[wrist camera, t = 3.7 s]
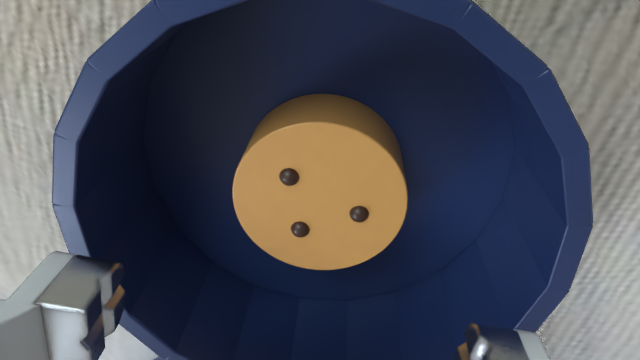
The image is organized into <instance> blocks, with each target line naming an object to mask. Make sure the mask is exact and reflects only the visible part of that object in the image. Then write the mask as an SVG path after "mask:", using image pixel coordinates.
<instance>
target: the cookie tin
mask: <svg viewBox="0 0 640 360" xmlns="http://www.w3.org/2000/svg"><path fill="white" fill-rule="evenodd" d="M311 94H333V95H339V96H344V97H348V98H350V99H353V100H356V101H358V102H360V103H362V104H364V105H366V106H368V107H369V108H371V109H372V110H373V111H375V112H376V113H377V114H378V115H380V116H381V117H382V118H383V119H384V120H385V122H386V123H387V124H388V125H389V126H390V128H391V129H392V131H393V133H394V134H395V136H396V138H397V141H398V143H399V146H400V150H401V154H402V160H403V166H404V172H405V177H406V183H407V190H408V208H407V213H406V217H405V220H404V222H403V225H402V227H401V229H400V230H399V232H398V234H397V235H396V237H395V238H394V239H393V241H392V242H391V243H390V244H389V245H388V246H387V247H386V248H385V249H384V250H383V251H381V252H380V253H379V254H377V255H376V256H374V257H372V258H371V259H369V260H367V261H365V262H362V263H360V264H358V265H354V266H351V267H347V268H342V269H335V270H313V269H306V268H301V267H297V266H294V265H291V264H288V263H285V262H283V261H281V260H278V259H276V258H275V257H273V256H271V255H270V254H268V253H267V252H265V251H264V250H263V249H261V248H260V247H259V246H258V245H257V244H256V243H255V242H253V240H252V239H251V238H250V237H249V236H248V235H247V233H246V232H245V230H244V229H243V227H242V226H241V224H240V222H239V219H238V217H237V215H236V211H235V208H234V203H233V197H232V187H233V180H234V176H235V173H236V169H237V167H238V165H239V163H240V161H241V159H242V156H243V154H244V152H245V150H246V148H247V146H248V143H249V141H250V139H251V137H252V135H253V133H254V131H255V129H256V127H257V126H258V125H259V123H260V122H261V121H262V119H263V118H264V117H265V116H266V115H267V114H268V113H269V112H271V111H272V110H273V109H274V108H276V107H277V106H279V105H281V104H283V103H284V102H287V101H289V100H291V99H294V98H297V97H301V96H304V95H311ZM52 203H53V209H54V211H55V214H56V217H57V220H58V223H59V226H60V228H61V231H62V234H63V237H64V240H65V242H66V245H67V248H68V251H69V254H74V255H82V256H87V257H93V258H98V259H103V260H108V261H113V262H118V263H121V264H122V265H124V278H123V280H122V281H121V283H120V285H121V287H122V288H123V289H124V290H125V306H124V311H123V314H122V317H121V320H120V322H119V324H120V325H121V326H122V327H123V328H125V329H126V330H127V331H128V332H130V333H131V334H132V335H133V336H135V337H136V338H137V339H138V340H140V341H141V342H142V343H143V344H145V345H146V346H147V347H148V348H150V349H151V350H152V351H153V352H155V353H156V354H157V355H158V356H160V357H161V358H162V359H164V360H453V359H454V355H455V353H456V350H457V348H458V347H459V346H460V345H462V344H464V343H465V342H466V340H465V336H464V333H465V331H466V328H467V326H468V325H469V324H470V323H478V324H485V325H491V326H497V327H503V328H509V329H517V330H524V331H530V332H536V331H537V330H538V328H539V327H540V326H541V325H542V324H543V322H544V321H545V320H546V319H547V318H548V316H549V315H550V314H551V313H552V311H553V310H554V309H555V308H556V307H557V305H558V304H559V303H560V302H561V301H562V299H563V298H564V297H565V296H566V295H567V293H568V292H569V289H570V288H571V285H572V282H573V279H574V277H575V274H576V271H577V268H578V266H579V263H580V260H581V257H582V254H583V252H584V249H585V246H586V243H587V241H588V238H589V235H590V232H591V229H592V227H593V225H592V223H593V210H592V191H591V172H590V153H589V148H588V142H587V140H586V138H585V136H584V135H583V133H582V131H581V129H580V127H579V125H578V123H577V121H576V119H575V117H574V115H573V113H572V111H571V109H570V107H569V105H568V103H567V101H566V99H565V97H564V95H563V93H562V91H561V89H560V87H559V85H558V83H557V81H556V79H555V77H554V75H553V73H552V71H551V69H549V68H548V67H547V65H546V64H545V63H544V62H543V61H542V60H541V59H539V58H538V57H537V56H536V55H535V54H534V53H532V52H531V51H530V50H529V49H528V48H527V47H525V46H524V45H523V44H522V43H521V42H520V41H518V40H517V39H516V38H515V37H514V36H513V35H511V34H510V33H509V32H508V31H507V30H506V29H505V28H503V27H502V26H501V25H500V24H499V23H498V22H496V21H495V20H494V19H493V18H492V17H491V16H489V15H488V14H487V13H486V12H485V11H484V10H482V9H481V8H480V7H479V6H478V5H477V4H475V3H474V2H473V1H472V0H151V1H150V2H149V3H148V4H147V5H146V6H145V7H144V8H142V9H141V10H140V11H139V12H138V13H137V14H136V15H135V16H134V17H133V18H131V19H130V20H129V21H128V22H127V23H126V24H125V25H124V26H123V27H122V28H120V29H119V30H118V31H117V32H116V33H115V34H114V35H113V36H112V37H111V38H109V39H108V40H107V41H106V42H105V43H104V44H103V45H102V46H101V47H100V48H98V49H97V50H96V51H95V52H94V53H93V54H92V55H91V56H90V57H89V58H88V59H87V61H86V62H85V64H84V66H83V69H82V71H81V73H80V75H79V77H78V80H77V82H76V84H75V86H74V89H73V91H72V93H71V95H70V97H69V100H68V102H67V104H66V106H65V109H64V111H63V113H62V115H61V117H60V120H59V122H58V124H57V126H56V129H55V133H54V140H53V192H52Z"/></svg>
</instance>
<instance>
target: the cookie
mask: <svg viewBox="0 0 640 360" xmlns="http://www.w3.org/2000/svg"><path fill="white" fill-rule="evenodd" d="M232 197H233V203H234V208H235V211H236V215H237V217H238V219H239V222H240V224H241V226H242V227H243V229H244V230H245V232H246V233H247V235H248V236H249V237H250V238H251V239H252V240H253V242H255V243H256V244H257V245H258V246H259V247H260V248H261V249H263V250H264V251H265V252H267V253H268V254H270V255H271V256H273V257H275V258H276V259H278V260H281V261H283V262H285V263H288V264H291V265H294V266H297V267H301V268H306V269H313V270H335V269H342V268H347V267H351V266H354V265H358V264H360V263H362V262H365V261H367V260H369V259H371V258H372V257H374V256H376V255H377V254H379V253H380V252H381V251H383V250H384V249H385V248H386V247H387V246H388V245H389V244H390V243H391V242H392V241H393V239H394V238H395V237H396V235H397V234H398V232H399V230H400V229H401V227H402V225H403V222H404V220H405V217H406V213H407V208H408V190H407V183H406V177H405V172H404V166H403V160H402V154H401V150H400V146H399V143H398V141H397V138H396V136H395V134H394V133H393V131H392V129H391V128H390V126H389V125H388V124H387V123H386V122H385V120H384V119H383V118H382V117H381V116H380V115H378V114H377V113H376V112H375V111H373V110H372V109H371V108H369V107H368V106H366V105H364V104H362V103H360V102H358V101H356V100H353V99H350V98H348V97H344V96H339V95H333V94H311V95H304V96H301V97H297V98H294V99H291V100H289V101H287V102H284V103H283V104H281V105H279V106H277V107H276V108H274V109H273V110H272V111H271V112H269V113H268V114H267V115H266V116H265V117H264V118H263V119H262V121H261V122H260V123H259V125H258V126H257V127H256V129H255V131H254V133H253V135H252V137H251V139H250V141H249V143H248V146H247V148H246V150H245V152H244V154H243V156H242V159H241V161H240V163H239V165H238V167H237V169H236V173H235V176H234V180H233V187H232Z"/></svg>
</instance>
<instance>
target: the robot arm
mask: <svg viewBox="0 0 640 360" xmlns="http://www.w3.org/2000/svg"><path fill="white" fill-rule="evenodd" d="M123 278H124V265H122V264H121V263H118V262H113V261H108V260H103V259H98V258H93V257H87V256H82V255H74V254H69V253H64V252H59V251H55V252H52V253H50V254H49V255H48V256H47V257H46V258H45V259H44V260H43V261H42V262H41V263H40V264H39V266H38V267H37V268H36V269H35V270H34V271H33V272H32V273H31V274H30V275H29V276H28V277H27V279H26V280H25V281H24V282H23V283H22V284H21V285H20V286H19V287H18V288H17V289H16V291H15V292H14V293H13V294H12V295H11V296H10V297H9V298H8V299H7V300H3V299H0V360H98V359H99V357H100V355H101V354H102V352H103V350H104V348H105V340H104V337H106V336H108V335H109V334H111V333H113V332H114V331H115V329H116V328H117V326H118V324H119V322H120V320H121V317H122V314H123V311H124V306H125V290H124V289H123V288H122V287H121V285H120V283H121V281H122V280H123ZM464 336H465V340H466V342H465V343H464V344H462V345H460V346H459V347H458V348H457V350H456V353H455V355H454V359H453V360H550V358H549V356H548V354H547V352H546V350H545V348H544V345H543V343H542V341H541V339H540V337H539V336H538V335H537V334H536V333H535V332H530V331H524V330H517V329H509V328H503V327H497V326H491V325H485V324H478V323H470V324H469V325H468V326H467V328H466V331H465V333H464Z"/></svg>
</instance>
